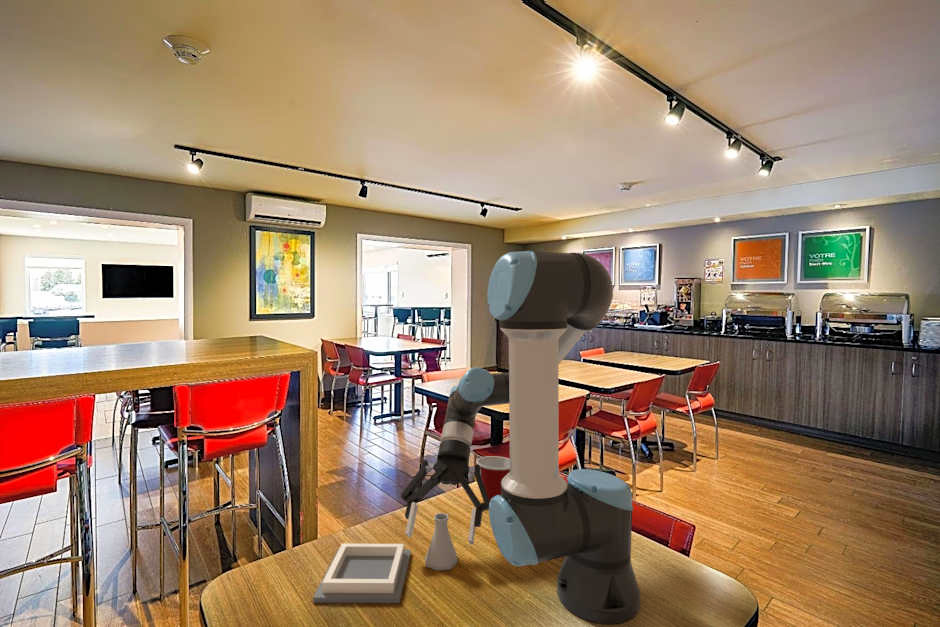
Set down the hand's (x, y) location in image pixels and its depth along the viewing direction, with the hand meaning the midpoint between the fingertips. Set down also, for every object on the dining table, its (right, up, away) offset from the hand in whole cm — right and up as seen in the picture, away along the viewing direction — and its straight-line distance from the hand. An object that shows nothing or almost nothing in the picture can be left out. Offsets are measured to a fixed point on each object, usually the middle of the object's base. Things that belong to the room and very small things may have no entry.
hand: (439, 539), depth 99 cm
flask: (0, -6, +1) cm, 6 cm away
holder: (-15, -6, -4) cm, 16 cm away
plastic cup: (+14, -4, +28) cm, 31 cm away
